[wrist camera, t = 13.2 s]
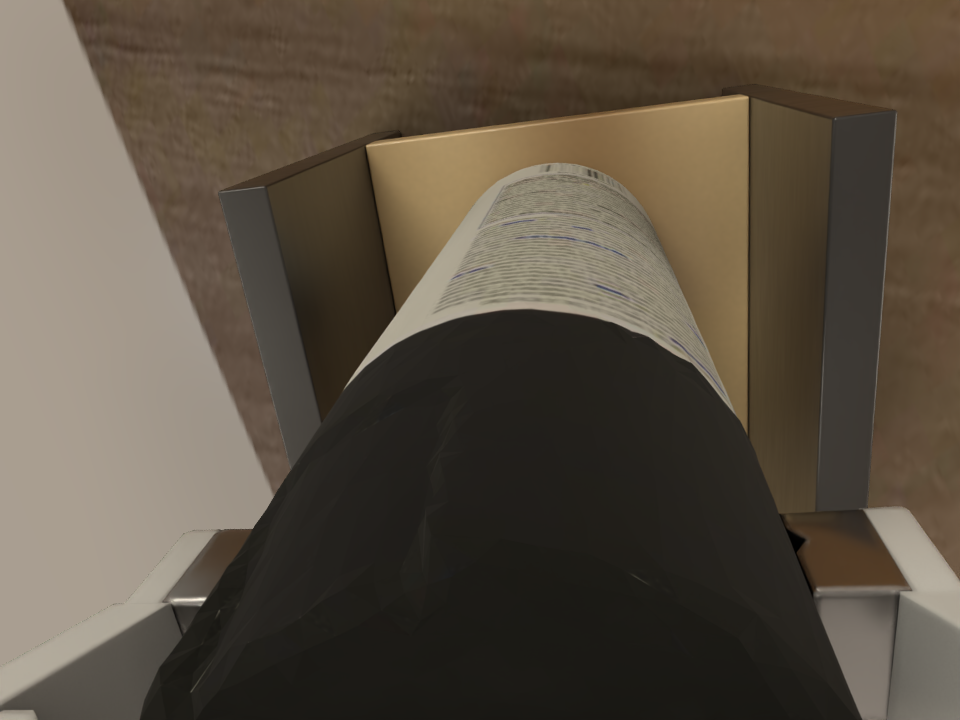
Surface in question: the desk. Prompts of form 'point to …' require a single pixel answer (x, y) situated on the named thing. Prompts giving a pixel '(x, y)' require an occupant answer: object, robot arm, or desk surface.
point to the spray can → (521, 508)
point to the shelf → (678, 224)
